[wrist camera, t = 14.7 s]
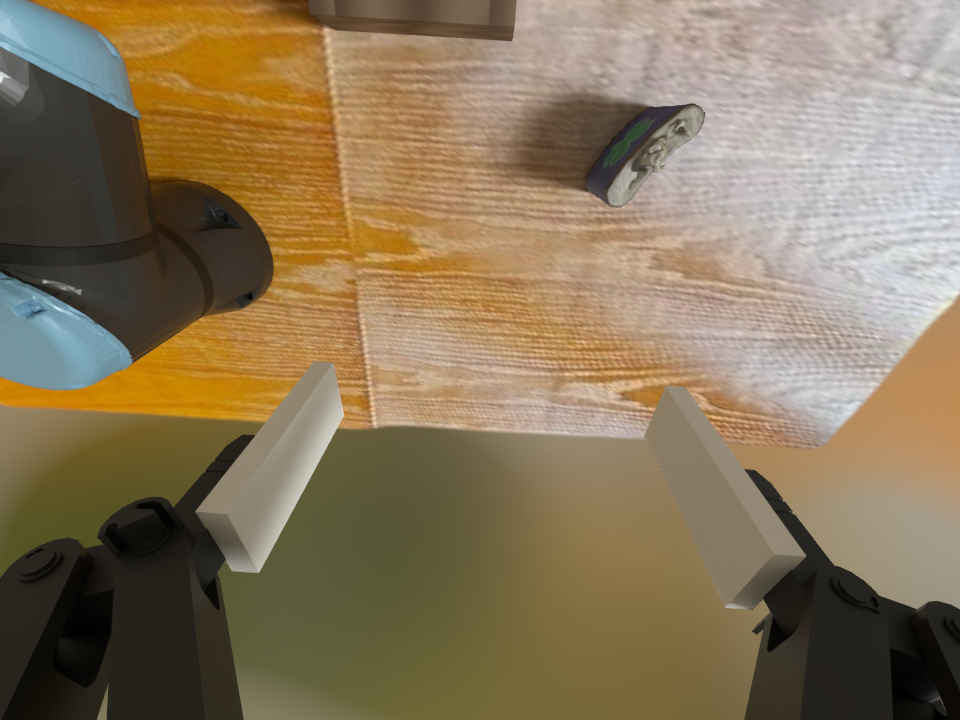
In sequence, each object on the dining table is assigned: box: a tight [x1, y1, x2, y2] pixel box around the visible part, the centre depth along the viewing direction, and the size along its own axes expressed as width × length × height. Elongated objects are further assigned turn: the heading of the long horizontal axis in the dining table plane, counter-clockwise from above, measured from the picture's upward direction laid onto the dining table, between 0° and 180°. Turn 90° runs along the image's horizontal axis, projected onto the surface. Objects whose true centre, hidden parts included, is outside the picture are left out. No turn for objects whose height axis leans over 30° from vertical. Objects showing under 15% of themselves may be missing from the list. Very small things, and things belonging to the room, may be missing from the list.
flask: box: [585, 104, 705, 208], centre depth 32 cm, size 9×3×11 cm, turn 140°
